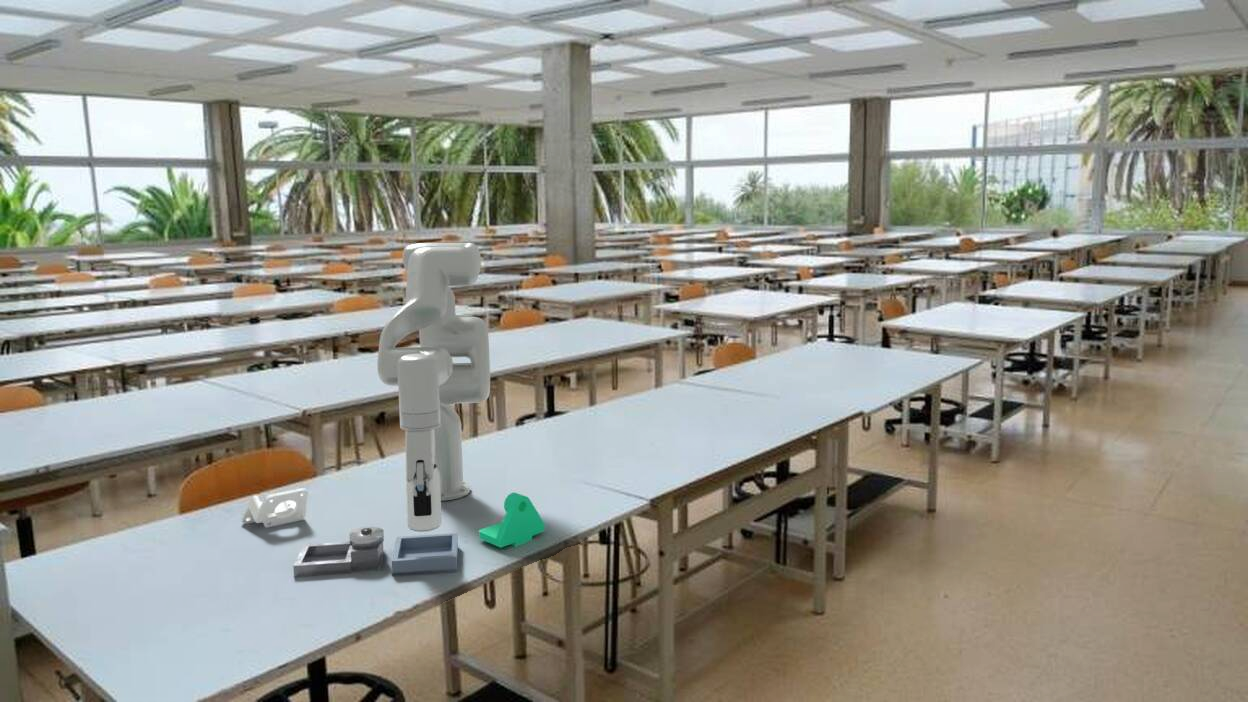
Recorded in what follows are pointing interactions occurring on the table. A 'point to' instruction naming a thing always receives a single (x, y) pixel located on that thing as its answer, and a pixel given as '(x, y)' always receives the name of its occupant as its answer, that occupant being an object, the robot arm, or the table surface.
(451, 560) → the tray
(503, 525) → the camera mount
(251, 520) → the mounting bracket
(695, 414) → the table surface
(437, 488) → the can
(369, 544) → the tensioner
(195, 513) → the table surface
